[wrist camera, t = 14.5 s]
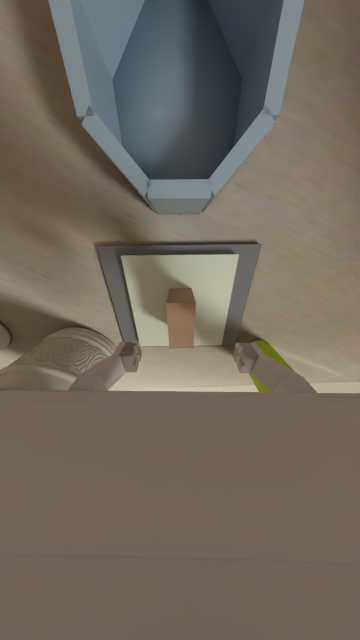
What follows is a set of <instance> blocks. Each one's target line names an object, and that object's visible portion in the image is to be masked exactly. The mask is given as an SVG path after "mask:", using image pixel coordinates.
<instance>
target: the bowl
mask: <svg viewBox="0 0 360 640" xmlns="http://www.w3.org/2000/svg"><path fill="white" fill-rule="evenodd" d="M48 1H49V5H50V9H51V13H52V17H53V21H54V25H55V29H56V33H57V37H58V41H59V45H60V49H61V53H62V57H63V61H64V66H65V70H66V74H67V78H68V82H69V86H70V90H71V94H72V98H73V102H74V106H75V110H76V114H77V117H78V118H79V119H80V121H81V122H82V124H81V125H82V126H83V128H84V129H85V130H86V131H87V133H88V134H89V135H90V136H91V137H92V139H93V140H94V141H95V142H96V144H97V145H98V146H99V147H100V149H101V150H102V151H103V152H104V153H105V155H106V156H107V157H108V158H109V160H110V161H111V162H112V163H113V165H114V166H115V167H116V168H117V169H118V171H119V172H120V173H121V174H122V175H123V176H124V178H125V179H126V180H127V181H128V182H129V183H130V184H131V186H132V187H133V188H134V189H135V190H136V191H137V193H138V194H139V195H140V196H141V197H142V198H143V199H144V201H145V202H146V203H147V204H148V205H149V206H150V207H151V209H152V210H153V211H154V212H155V213H156V212H157V213H158V214H178V215H180V214H200V212H201V211H202V212H203V211H204V210H205V209H206V207H207V206H208V205H209V204H210V203H211V201H212V200H213V199H214V198H215V197H216V195H217V194H218V193H219V192H220V191H221V189H222V188H223V187H224V186H225V185H226V183H227V182H228V181H229V180H230V179H231V177H232V176H233V175H234V174H235V173H236V171H237V170H238V169H239V168H240V166H241V165H242V164H243V163H244V162H245V160H246V159H247V158H248V157H249V155H250V154H251V153H252V152H253V150H254V149H255V148H256V147H257V145H258V144H259V143H260V142H261V140H262V139H263V138H264V137H265V135H266V134H267V133H268V132H269V130H270V129H271V128H272V127H273V125H274V124H275V122H274V121H275V119H276V118H277V117H278V116H279V113H280V108H281V104H282V100H283V95H284V91H285V86H286V82H287V77H288V73H289V68H290V64H291V59H292V55H293V50H294V46H295V42H296V37H297V33H298V28H299V24H300V19H301V15H302V10H303V6H304V1H305V0H48Z"/></svg>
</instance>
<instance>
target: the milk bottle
mask: <svg viewBox="0 0 360 640" xmlns="http://www.w3.org/2000/svg"><path fill="white" fill-rule="evenodd" d="M10 340H11V337H10V334H9V332H8V331H7V329H6V328H5V327H4V326H3V325H2V324H1V323H0V350H1V349H3V348H4V347H6V346H7V345H8V344H9V342H10Z"/></svg>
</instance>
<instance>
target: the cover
mask: <svg viewBox="0 0 360 640" xmlns="http://www.w3.org/2000/svg"><path fill="white" fill-rule="evenodd" d="M238 257H239V254H185V255H123V256H121V259H122V264H123V269H124V273H125V278H126V283H127V287H128V292H129V297H130V301H131V306H132V311H133V315H134V320H135V325H136V329H137V334H138V339H139V343H140V346H169V348H194V346H196V345H222V340H223V335H224V329H225V324H226V319H227V314H228V309H229V304H230V299H231V293H232V288H233V283H234V278H235V273H236V268H237V263H238Z"/></svg>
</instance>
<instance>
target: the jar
mask: <svg viewBox="0 0 360 640" xmlns="http://www.w3.org/2000/svg"><path fill="white" fill-rule="evenodd" d="M115 349H116V347H115V346H114V344H113V343H112V342H111V341H110V340H108V339H107V338H106V337H104V336H103V335H101V334H99V333H97V332H94V331H92V330H89V329H85V328H78V327H70V328H64V329H61V330H59V331H57V332H54V333H52V334H50V335H48V336H47V337H46V338H44V339H43V340H42V341H41V342H40V343H39V344H38V345H37V346H35V347H34V348H32V349H31V350H30V351H28V352H27V353H25V354H24V355H23V356H21V357H20V358H18V359H17V360H16V361H14V362H13V363H11V364H10V365H9V366H7V367H5V368H2V369H1V370H0V391H3V390H12V389H13V390H68V389H69V388H70V386H71V385H72V384H73V382H74V381H75V380H76V379H77V377H78V376H79V375H80V374H82V373H83V372H85V371H86V370H88V369H89V368H91V367H93V366H94V365H96V364H97V363H99V362H101V361H102V360H104V359H105V358H107V357H108V356H112V354H113V353H114V351H115Z"/></svg>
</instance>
